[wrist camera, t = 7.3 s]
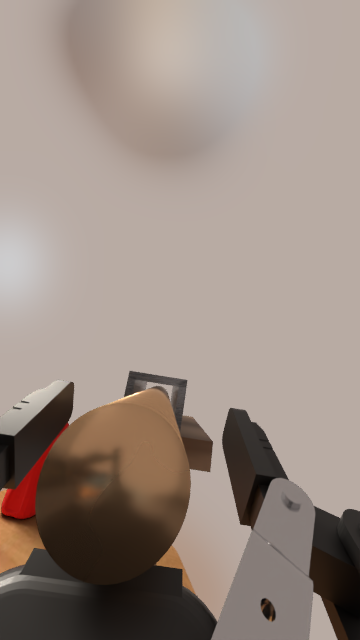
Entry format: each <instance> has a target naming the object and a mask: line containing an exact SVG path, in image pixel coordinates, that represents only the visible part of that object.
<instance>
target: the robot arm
mask: <svg viewBox="0 0 360 640" xmlns="http://www.w3.org/2000/svg"><path fill="white" fill-rule="evenodd" d="M73 394H74V383H73V382H69V381H62V380H56V381H54V382H53V383H52V384H51V385H49V386H48V387H47V388H46V389H45V388H42V389H39V390H37V391H35V392H33V393H30V394H29V395H28V396H27V397H25V398H24V399H23V400H22V401H21V402H19V403H18V404H16V405H15V406H14V407H13V409H10V410H9V411H8V412H6V413H5V414H4V415H2V416H1V417H0V490H1V489H2V488H7V489H14V490H15V489H16V488H17V487H18V485H19V484H20V483H21V481H22V480H23V479H24V478H25V476H26V475H27V474H28V472H29V471H30V470H31V469H32V467H33V466H34V465H35V464H36V462H37V461H38V460H39V458H40V457H41V456H42V455H43V453H44V452H45V451H46V449H47V448H48V447H49V446H50V444H51V443H52V442H53V440H54V439H55V438H56V437H57V435H58V434H59V433H60V431H61V430H62V429H63V428H64V426H65V425H66V424H67V422H68V421H69V419H70V417H71V414H72V410H73ZM222 444H223V450H224V454H225V459H226V463H227V468H228V472H229V477H230V481H231V485H232V490H233V494H234V498H235V503H236V507H237V512H238V516H239V521H240V524H241V525H247V526H251V529H252V532H251V535H250V537H249V540H248V543H247V545H246V548H245V551H244V553H243V556H242V559H241V561H240V564H239V566H238V569H237V572H236V574H235V577H234V580H233V583H232V585H231V588H230V591H229V593H228V596H227V598H226V601H225V604H224V607H223V609H222V612H221V615H220V617H219V620H218V622H217V621H216V619H215V617H214V616H213V614H212V613H211V612H210V610H209V609H208V608H207V606H206V605H205V604H204V603H203V602H202V601H201V600H200V599H199V598H198V597H197V596H196V595H195V594H194V593H192V592H191V591H190V590H189V589H187V588H185V587H184V586H182V569H177V568H170V567H163V566H156V565H153V566H152V567H151V568H150V569H148V570H147V571H145V572H144V573H142V574H140V575H139V576H137V577H135V578H132V579H130V580H128V581H124V582H121V583H118V584H110V585H96V584H91V583H86V582H83V581H81V580H78V579H76V578H74V577H72V576H71V575H69V574H67V573H66V572H64V571H63V570H62V569H61V568H60V567H59V566H58V565H57V564H56V563H55V562H54V560H53V559H52V558H51V556H50V555H49V554H48V552H47V550H44V549H37V548H34V549H33V551H32V553H31V555H30V557H29V559H28V560H27V562H26V564H25V565H21V566H18V567H15V568H12V569H9V570H7V571H5V572H3V573H0V640H309V633H310V622H311V611H312V599H313V592H315V593H317V594H318V595H320V596H321V598H322V601H323V603H324V606H325V608H326V611H327V613H328V616H329V618H330V621H331V623H332V626H333V629H334V631H335V634H336V637H337V639H338V640H360V511H357V510H353V509H347V510H345V511H344V512H343V515H342V517H341V518H339V517H336V516H334V515H332V514H330V513H328V512H326V511H323V510H321V509H319V508H317V507H315V506H313V503H312V501H311V500H310V498H309V497H308V496H307V494H306V493H305V492H304V491H303V490H302V489H301V488H300V487H299V486H297V485H296V484H294V483H293V482H291V481H289V479H288V478H287V475H286V474H285V472H284V470H283V468H282V466H281V464H280V462H279V460H278V458H277V456H276V454H275V452H274V451H273V448H272V446H271V444H270V443H269V440H268V438H267V436H266V434H265V433H264V431H263V430H262V429H261V428H260V427H259V426H258V425H257V424H256V423H254V422H251V420H250V418H249V416H248V414H247V412H246V411H245V410H240V409H234V408H230V409H229V412H228V416H227V420H226V424H225V428H224V431H223V439H222Z"/></svg>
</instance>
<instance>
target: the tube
mask: <svg viewBox="0 0 360 640" xmlns="http://www.w3.org/2000/svg"><path fill="white" fill-rule="evenodd" d="M190 487H191V481H190V468H189V462H188V458H187V455H186V451H185V448H184V445H183V442H182V438H181V435H180V432H179V428H178V425H177V422H176V419H175V415H174V412H173V409H172V406H171V402H170V399H169V396H168V393H167V391H166V390H165V389H164V388H163V387H161V386H155V387H152V388H149V389H147V390H144V391H141V392H139V393H136V394H133V395H130V396H128V397H125V398H123V399H120V400H117V401H114V402H112V403H109V404H107V405H104V406H101V407H99V408H96V409H94V410H92V411H89V412H87V413H86V414H84V415H83V416H81V417H79V418H78V419H77V420H75V421H74V422H73V423H72V424H71V425H69V426H68V427H67V428H66V429H65V430H64V431H63V432H62V434H61V435H60V436H59V438H58V439H57V440H56V441H55V443H54V445H53V446H52V448H51V449H50V451H49V453H48V455H47V457H46V459H45V461H44V464H43V466H42V469H41V472H40V475H39V479H38V483H37V490H36V497H35V511H36V521H37V526H38V530H39V534H40V537H41V539H42V542H43V545H44V546H45V548H46V550H47V552H48V554H49V555H50V556H51V558H52V559H53V560H54V562H55V563H56V564H57V565H58V566H59V567H60V568H61V569H62V570H63V571H64V572H66V573H67V574H69V575H71V576H72V577H74V578H76V579H78V580H81V581H83V582H86V583H91V584H96V585H110V584H118V583H121V582H124V581H128V580H130V579H132V578H135V577H137V576H139V575H140V574H142V573H144V572H145V571H147V570H148V569H150V568H151V567H152V566H153V565H154V564H155V563H156V562H158V561H159V560H160V559H161V557H162V556H163V555H164V554H165V553H166V552H167V551H168V549H169V548H170V546H171V545H172V543H173V542H174V540H175V539H176V537H177V535H178V533H179V531H180V529H181V526H182V524H183V522H184V519H185V516H186V512H187V509H188V503H189V498H190Z"/></svg>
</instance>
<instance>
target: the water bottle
mask: <svg viewBox="0 0 360 640" xmlns="http://www.w3.org/2000/svg"><path fill="white" fill-rule="evenodd" d="M68 426H69V424H68V422H67V424H66V425H65V426H64V428H63V429H62V430H61V431H60V433H59V434H58V435H57V437H56V438H55V439H54V440H53V442H52V443H51V444H50V446H49V447H48V448H47V449H46V451H45V452H44V453H43V455H42V456H41V457H40V458H39V460H38V461H37V462H36V464H35V465H34V466H33V467H32V469H31V470H30V471H29V472H28V474H27V475H26V476H25V478H24V479H23V480H22V481H21V483H20V484H19V485H18V487H17V488H16V489H15V490H14V489H7V492H6V494H5V497H4V499H3V502H2V507H1V512H2V513H3V514H4V515H7V516H12V517H14V518H18V519H26V518H30V517H32V516H33V515H35V514H36V511H35V497H36V490H37V483H38V479H39V475H40V472H41V469H42V466H43V464H44V461H45V459H46V457H47V455H48V453H49V451H50V449H51V448H52V446H53V445H54V443H55V441H56V440H57V439H58V438H59V436H60V435H61V434H62V432H63V431H64V430H65V429H66V428H67V427H68Z"/></svg>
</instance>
